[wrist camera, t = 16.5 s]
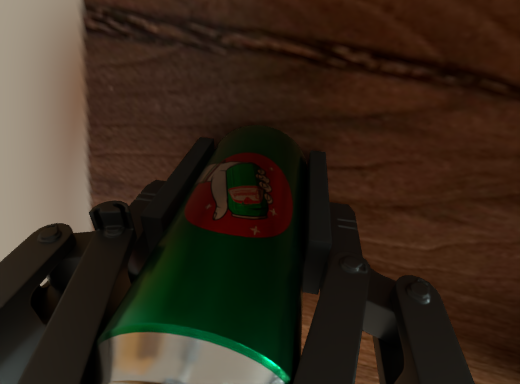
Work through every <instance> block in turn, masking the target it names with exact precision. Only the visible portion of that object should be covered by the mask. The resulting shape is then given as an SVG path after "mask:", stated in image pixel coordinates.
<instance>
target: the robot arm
mask: <svg viewBox="0 0 520 384" xmlns="http://www.w3.org/2000/svg"><path fill="white" fill-rule="evenodd" d="M213 151H214V139H210V138H202V137H200V138H199V139H198V140H197V142H196V143H195V144H194V146H193V147H192V148H191V149H190V151H189V152H188V153H187V155H186V156H185V157H184V159H183V160H182V161H181V162H180V164H179V165H178V166H177V168H176V169H175V170H174V172H173V173H172V174H171V175H170V177H169V178H168V179H167V181H161V180H155V181H153V182H152V183H150V184H148V185H147V186H146V187H145V188H144V189H143V190H142V191H141V194H139V195H138V196H137V197H136V200H134V201H133V202H132V203H131V204H130V206H128V205H127V203H124V202H122V201H107V202H104V203H101V204H99V205H97V206H95V207H94V208H92V210H91V211H90V212H89V215H90V217H91V220H92V223H93V225H94V228H95V231H92V232H83V233H73V231H72V229H71V227H70V226H69V225H66V224H63V223H56V224H51V225H47V226H44V227H42V228H40V229H38V230H37V231H36V232H34V233H33V234H31V235H30V236H29V237H28V238H27V239H26V240H25V241H23V242H22V243H21V244H20V245H19V246H18V247H17V248H16V249H14V250H13V251H12V252H11V253H10V254H9V255H8V256H7V257H5V258H4V259H3V260H2V261H1V262H0V384H93V372H94V349H95V343H96V341H97V339H98V338H99V336H100V334H101V333H102V331H103V329H104V328H105V326H106V325H107V323H108V321H109V320H110V318H111V317H112V315H113V313H114V312H115V310H116V308H117V307H118V305H119V304H120V302H121V300H122V299H123V297H124V295H125V294H126V292H127V291H128V289H129V287H130V286H131V284H132V283H133V281H134V279H135V278H136V276H137V274H138V273H139V271H140V270H141V268H142V266H143V265H144V263H145V262H146V260H147V258H148V257H149V255H150V253H151V252H152V250H153V249H154V247H155V245H156V244H157V242H158V240H159V239H160V237H161V236H162V234H163V232H164V231H165V229H166V228H167V226H168V224H169V223H170V221H171V219H172V218H173V216H174V215H175V213H176V211H177V210H178V208H179V206H180V205H181V203H182V202H183V200H184V198H185V197H186V195H187V194H188V192H189V190H190V189H191V187H192V185H193V184H194V182H195V181H196V179H197V177H198V176H199V174H200V173H201V171H202V169H203V168H204V166H205V164H206V163H207V161H208V160H209V158H210V156H211V155H212V153H213ZM45 278H47V279H48V281H47V282H46V283H45V284H44V285H43V286H40V284H41V283H42V282H43V280H44V279H45ZM319 289H320V297H319V300H318V303H317V306H316V310H315V313H314V316H313V319H312V323H311V326H310V329H309V333H308V336H307V339H306V342H305V346H304V349H303V352H302V355H301V359H300V362H299V365H298V368H297V372H296V375H295V378H294V382H293V384H354V383H355V376H356V369H357V363H358V356H359V349H360V342H361V335H362V331H365V332H367V333H369V334H371V335H373V341H374V348H375V354H376V361H377V367H378V374H379V381H380V384H475V383H474V381H473V378H472V376H471V373H470V370H469V368H468V365H467V363H466V360H465V358H464V355H463V353H462V350H461V347H460V345H459V342H458V340H457V337H456V335H455V332H454V330H453V327H452V324H451V322H450V319H449V317H448V314H447V312H446V309H445V307H444V304H443V301H442V299H441V296H440V295H439V293H438V291H437V290H436V289H435V288H434V287H433V286H432V285H431V284H430V283H429V282H427V281H425V280H424V279H422V278H419V277H416V276H413V275H405V276H402V277H400V278H399V279H398V280H397V281H395V280H393V279H390V278H388V277H385V276H383V275H381V274H379V273H377V272H375V271H374V270H373V269H371V268H370V265H369V263H368V262H367V260H366V259H364V258H363V256H362V250H361V245H360V239H359V234H358V230H357V223H356V217H355V213H354V211H353V210H352V209H351V207H350V206H349V205H347V204H340V203H332V202H329V192H328V178H327V164H326V152H321V151H313V150H311V151H310V157H309V163H308V169H307V194H306V222H305V251H304V279H303V292H305V293H312V294H318V293H319Z"/></svg>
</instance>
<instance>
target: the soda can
mask: <svg viewBox="0 0 520 384" xmlns="http://www.w3.org/2000/svg"><path fill="white" fill-rule="evenodd" d="M306 194H307V164H306V159H305V157H304V154H303V152H302V150H301V149H300V147H299V146H298V145H297V143H296V142H295V141H294V140H293V139H292V138H290V137H289V136H288V135H286V134H285V133H283V132H281V131H279V130H277V129H274V128H271V127H267V126H261V125H250V126H245V127H240V128H238V129H235V130H233V131H232V132H230V133H228V134H227V135H226V136H225V137H224V138H222V140H221V141H220V142H219V144H218V145H217V147H216V148H215V150H214V151H213V153H212V155H211V156H210V158H209V160H208V161H207V163H206V164H205V166H204V168H203V169H202V171H201V173H200V174H199V176H198V177H197V179H196V181H195V182H194V184H193V185H192V187H191V189H190V190H189V192H188V194H187V195H186V197H185V198H184V200H183V202H182V203H181V205H180V206H179V208H178V210H177V211H176V213H175V215H174V216H173V218H172V219H171V221H170V223H169V224H168V226H167V228H166V229H165V231H164V232H163V234H162V236H161V237H160V239H159V240H158V242H157V244H156V245H155V247H154V249H153V250H152V252H151V253H150V255H149V257H148V258H147V260H146V262H145V263H144V265H143V266H142V268H141V270H140V271H139V273H138V274H137V276H136V278H135V279H134V281H133V283H132V284H131V286H130V287H129V289H128V291H127V292H126V294H125V295H124V297H123V299H122V300H121V302H120V304H119V305H118V307H117V308H116V310H115V312H114V313H113V315H112V317H111V318H110V320H109V321H108V323H107V325H106V326H105V328H104V329H103V331H102V333H101V334H100V336H99V338H98V339H97V341H96V343H95V349H94V372H93V384H293V382H294V378H295V375H296V372H297V368H298V365H299V362H300V359H301V336H302V308H303V279H304V251H305V222H306Z"/></svg>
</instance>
